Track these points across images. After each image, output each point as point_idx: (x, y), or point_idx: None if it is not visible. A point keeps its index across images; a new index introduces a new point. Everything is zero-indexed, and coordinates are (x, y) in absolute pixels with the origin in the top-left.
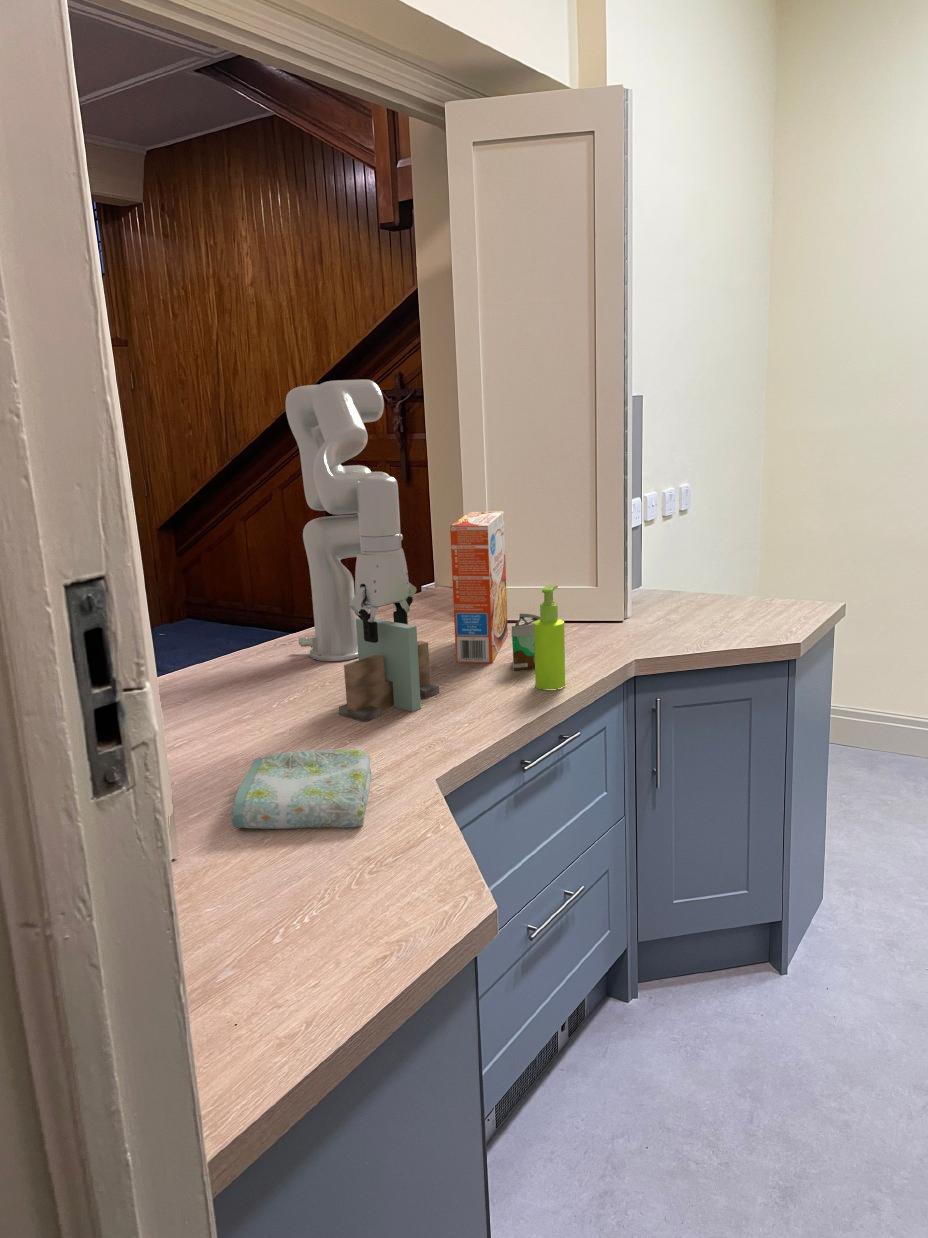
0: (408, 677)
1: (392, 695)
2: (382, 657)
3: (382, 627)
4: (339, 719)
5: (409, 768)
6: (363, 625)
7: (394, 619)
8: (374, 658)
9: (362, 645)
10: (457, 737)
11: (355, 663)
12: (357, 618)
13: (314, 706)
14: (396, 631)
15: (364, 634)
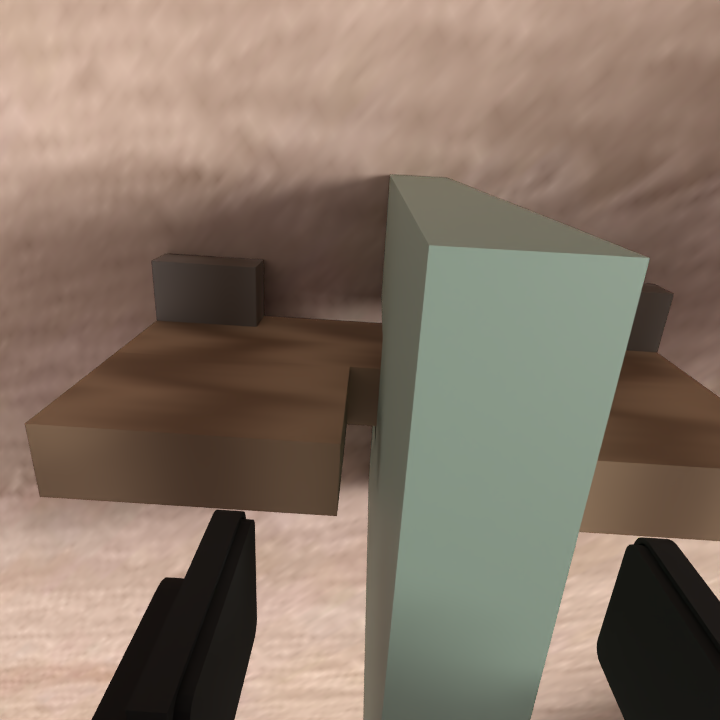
0: (367, 573)
1: None
2: (326, 513)
3: (381, 682)
4: (130, 299)
5: (32, 710)
6: (106, 694)
7: (697, 663)
8: (270, 492)
9: (398, 272)
10: (268, 694)
11: (103, 466)
12: (472, 248)
13: (161, 40)
14: None
15: (153, 603)
